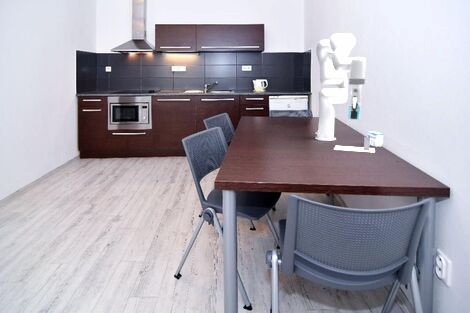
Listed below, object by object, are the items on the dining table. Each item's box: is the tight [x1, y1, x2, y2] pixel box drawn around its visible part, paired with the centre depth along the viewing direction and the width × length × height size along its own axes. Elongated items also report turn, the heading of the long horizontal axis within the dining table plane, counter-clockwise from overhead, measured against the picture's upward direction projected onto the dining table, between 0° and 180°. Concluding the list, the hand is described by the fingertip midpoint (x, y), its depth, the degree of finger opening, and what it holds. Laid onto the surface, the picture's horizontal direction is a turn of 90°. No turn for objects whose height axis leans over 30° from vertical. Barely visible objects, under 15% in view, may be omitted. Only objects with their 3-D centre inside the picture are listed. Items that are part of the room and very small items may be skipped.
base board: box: [333, 145, 376, 153], centre depth 199 cm, size 20×12×2 cm, turn 71°
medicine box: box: [366, 131, 384, 148], centre depth 209 cm, size 8×4×9 cm, turn 21°
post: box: [363, 135, 371, 150], centre depth 196 cm, size 3×3×7 cm
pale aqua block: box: [347, 105, 362, 121], centre depth 195 cm, size 5×5×7 cm
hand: (354, 117), depth 195 cm, fingers closed on pale aqua block, 5 cm apart
